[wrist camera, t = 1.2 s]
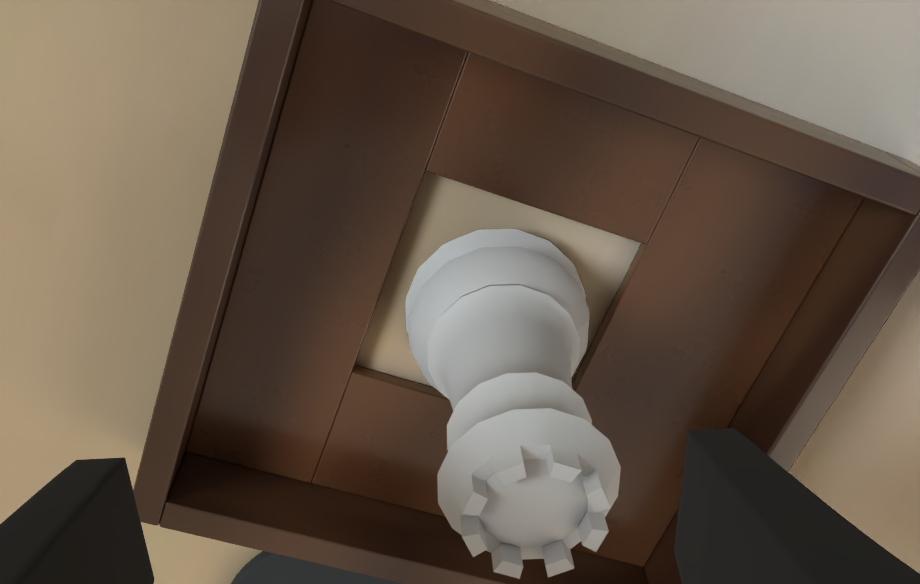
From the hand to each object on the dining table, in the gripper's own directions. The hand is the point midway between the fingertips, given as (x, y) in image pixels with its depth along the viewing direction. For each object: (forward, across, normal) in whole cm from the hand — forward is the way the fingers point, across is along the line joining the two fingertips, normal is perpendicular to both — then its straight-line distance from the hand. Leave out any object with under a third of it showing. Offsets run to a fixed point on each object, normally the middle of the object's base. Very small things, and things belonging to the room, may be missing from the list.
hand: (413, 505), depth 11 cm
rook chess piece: (+10, -2, +2) cm, 11 cm away
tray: (+10, -2, +3) cm, 11 cm away
